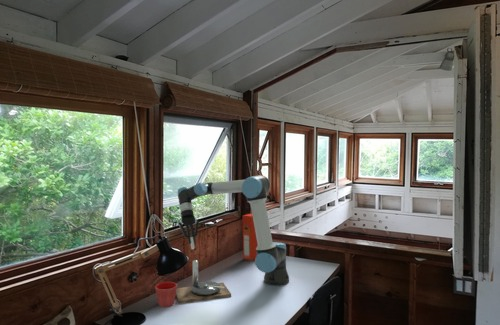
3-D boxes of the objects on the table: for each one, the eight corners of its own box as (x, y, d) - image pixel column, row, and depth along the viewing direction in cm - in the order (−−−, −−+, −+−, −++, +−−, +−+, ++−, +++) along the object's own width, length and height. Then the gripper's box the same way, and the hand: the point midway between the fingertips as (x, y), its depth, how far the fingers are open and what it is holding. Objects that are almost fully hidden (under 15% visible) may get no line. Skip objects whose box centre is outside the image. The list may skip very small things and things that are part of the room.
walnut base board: (223, 285, 215) (223, 282, 215) (231, 296, 198) (231, 293, 198) (174, 291, 206) (174, 288, 206) (178, 303, 189) (178, 300, 189)
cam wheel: (228, 286, 208) (227, 258, 208) (220, 297, 193) (219, 267, 192) (197, 283, 212) (196, 256, 211) (186, 294, 196) (186, 265, 196)
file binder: (242, 259, 265) (242, 215, 264) (257, 253, 279) (257, 212, 277) (251, 261, 260) (251, 216, 259) (266, 255, 273) (265, 213, 272)
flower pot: (172, 309, 183) (171, 289, 183) (151, 307, 185) (151, 288, 185) (180, 300, 193) (180, 282, 193) (161, 299, 195) (160, 281, 195)
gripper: (196, 212, 230) (202, 249, 219) (175, 215, 225) (180, 252, 214) (198, 207, 224) (205, 244, 213) (177, 210, 219) (182, 248, 208)
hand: (193, 248), depth 214 cm, fingers closed
